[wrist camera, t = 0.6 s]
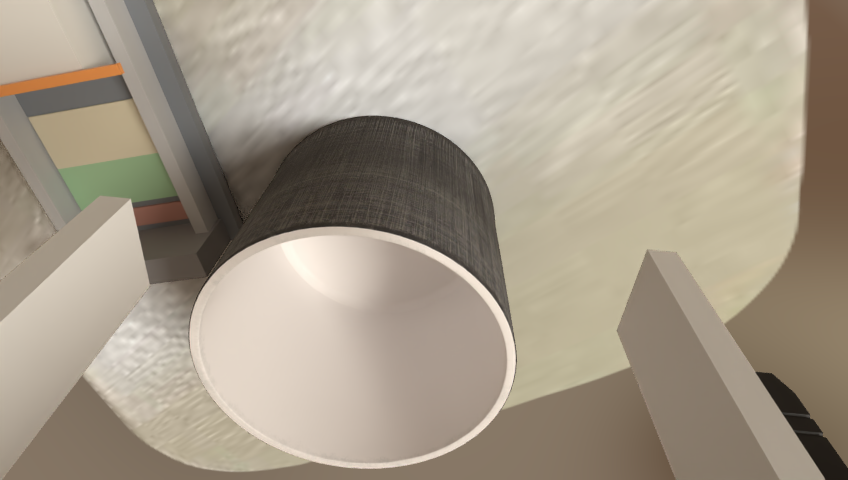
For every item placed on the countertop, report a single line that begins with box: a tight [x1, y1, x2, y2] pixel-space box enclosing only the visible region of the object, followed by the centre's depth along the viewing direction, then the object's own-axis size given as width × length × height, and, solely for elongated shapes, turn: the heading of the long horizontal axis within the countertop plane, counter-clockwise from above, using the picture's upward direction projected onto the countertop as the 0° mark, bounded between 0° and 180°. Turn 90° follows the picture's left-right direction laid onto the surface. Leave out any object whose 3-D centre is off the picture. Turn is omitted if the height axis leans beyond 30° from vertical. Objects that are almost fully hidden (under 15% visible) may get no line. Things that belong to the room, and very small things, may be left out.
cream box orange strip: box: [0, 0, 125, 97], centre depth 33 cm, size 6×13×5 cm, turn 100°
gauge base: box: [0, 0, 243, 284], centre depth 36 cm, size 22×14×6 cm, turn 10°
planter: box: [189, 116, 517, 469], centre depth 36 cm, size 18×18×16 cm
